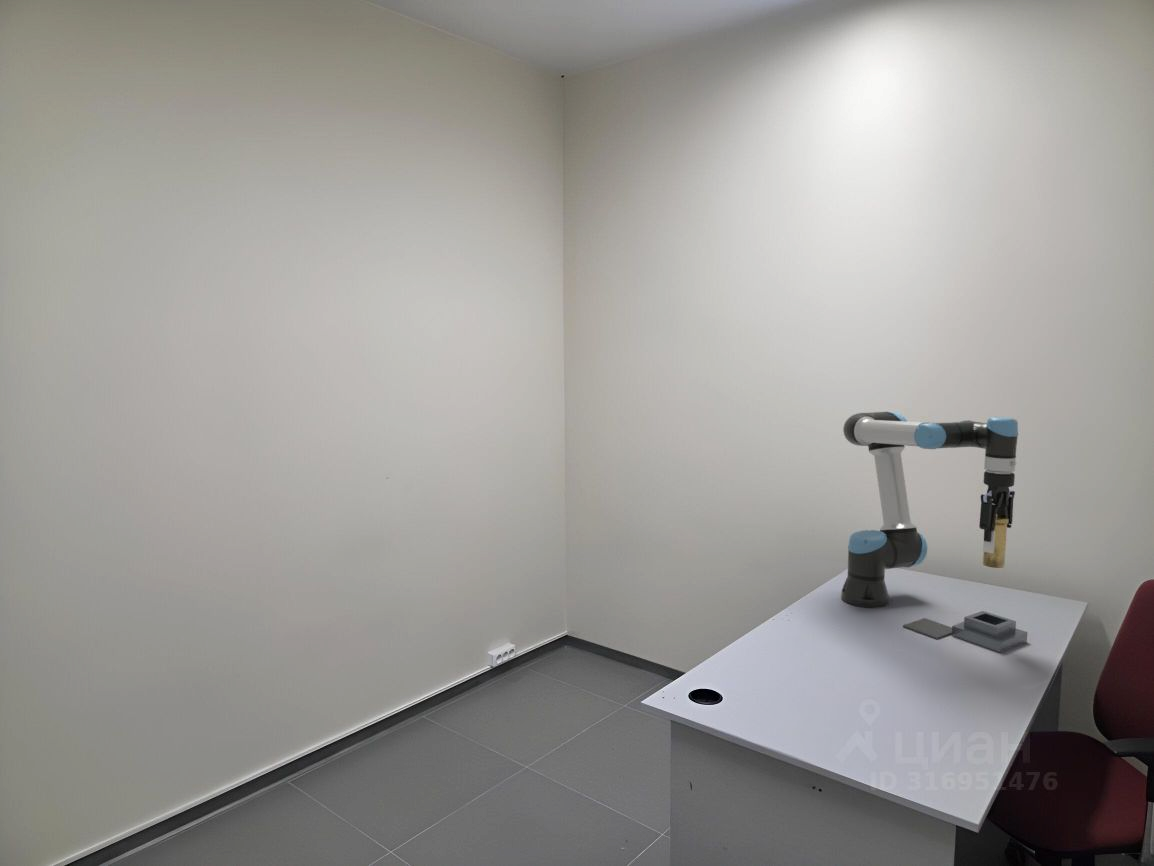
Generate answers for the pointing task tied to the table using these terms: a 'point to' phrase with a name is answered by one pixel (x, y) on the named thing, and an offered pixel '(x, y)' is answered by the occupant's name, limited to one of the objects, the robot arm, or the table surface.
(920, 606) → the table surface
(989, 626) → the housing
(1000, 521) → the brass flared knob
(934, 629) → the mat
